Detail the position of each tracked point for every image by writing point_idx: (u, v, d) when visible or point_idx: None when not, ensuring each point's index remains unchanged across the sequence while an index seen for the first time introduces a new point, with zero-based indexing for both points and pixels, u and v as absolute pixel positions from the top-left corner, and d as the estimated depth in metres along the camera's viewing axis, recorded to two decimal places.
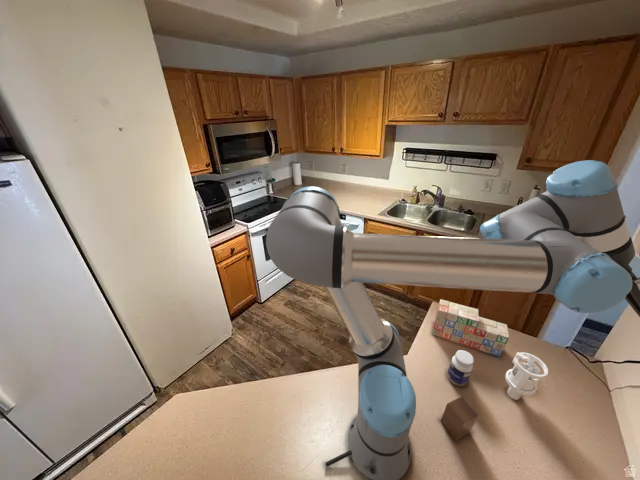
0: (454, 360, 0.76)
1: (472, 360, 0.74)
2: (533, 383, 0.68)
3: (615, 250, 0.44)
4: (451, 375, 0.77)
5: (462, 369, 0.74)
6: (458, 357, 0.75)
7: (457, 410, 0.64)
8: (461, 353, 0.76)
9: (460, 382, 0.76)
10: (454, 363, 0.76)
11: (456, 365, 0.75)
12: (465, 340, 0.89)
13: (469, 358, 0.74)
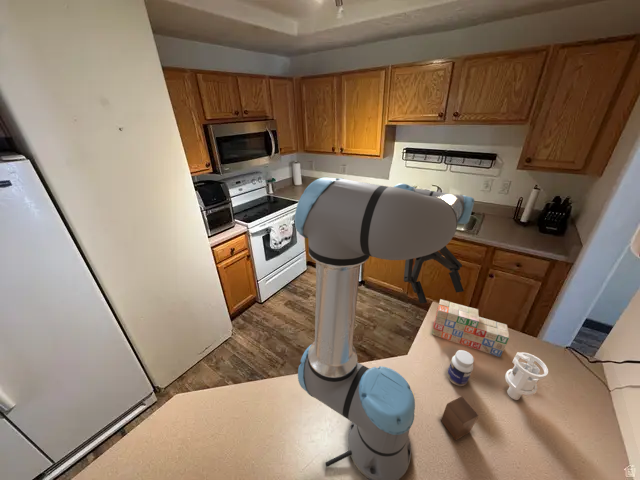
0: (454, 360, 0.76)
1: (472, 360, 0.74)
2: (533, 383, 0.68)
3: None
4: (451, 375, 0.77)
5: (462, 369, 0.74)
6: (458, 357, 0.75)
7: (457, 410, 0.64)
8: (461, 353, 0.76)
9: (460, 382, 0.76)
10: (454, 363, 0.76)
11: (456, 365, 0.75)
12: (465, 340, 0.89)
13: (469, 358, 0.74)
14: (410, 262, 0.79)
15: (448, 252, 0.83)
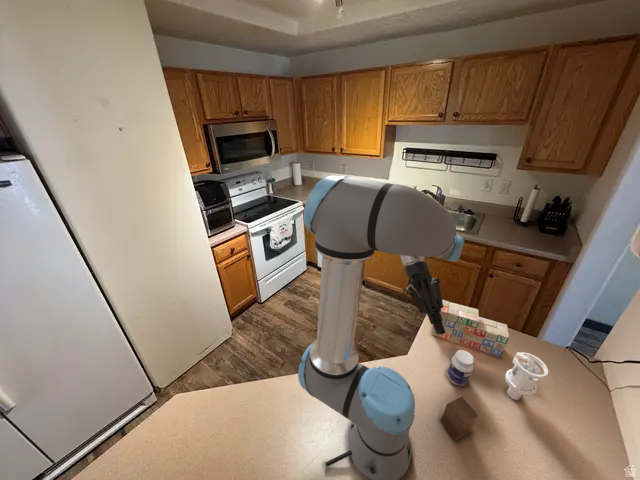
0: (454, 360, 0.76)
1: (472, 360, 0.74)
2: (533, 383, 0.68)
3: None
4: (451, 375, 0.77)
5: (462, 369, 0.74)
6: (458, 357, 0.75)
7: (457, 410, 0.64)
8: (461, 353, 0.76)
9: (460, 382, 0.76)
10: (454, 363, 0.76)
11: (456, 365, 0.75)
12: (465, 340, 0.89)
13: (469, 358, 0.74)
14: (417, 297, 0.83)
15: (438, 289, 0.86)
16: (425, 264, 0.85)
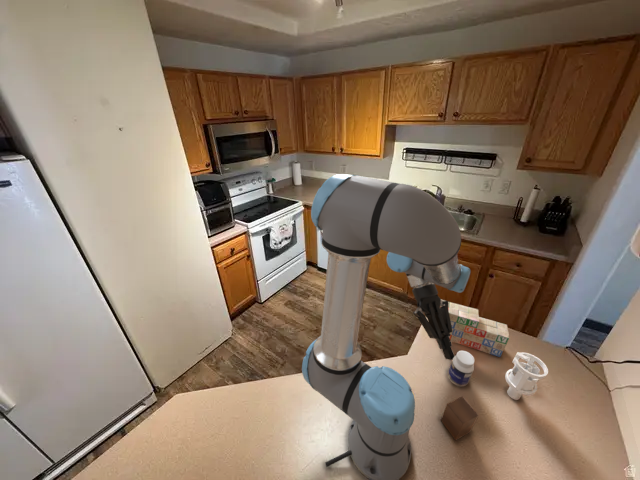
0: (455, 360, 0.76)
1: (473, 361, 0.74)
2: (533, 383, 0.68)
3: None
4: (452, 375, 0.77)
5: (463, 370, 0.74)
6: (459, 357, 0.75)
7: (457, 410, 0.64)
8: (462, 353, 0.76)
9: (460, 382, 0.76)
10: (455, 363, 0.76)
11: (456, 365, 0.75)
12: (465, 341, 0.89)
13: (470, 358, 0.74)
14: (426, 321, 0.81)
15: (447, 312, 0.84)
16: (434, 287, 0.83)
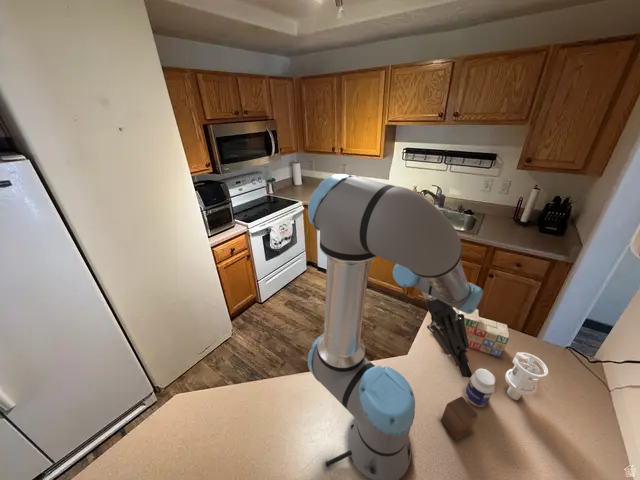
0: (473, 379, 0.71)
1: (493, 380, 0.68)
2: (533, 383, 0.68)
3: None
4: (470, 395, 0.72)
5: (482, 390, 0.69)
6: (478, 376, 0.69)
7: (457, 410, 0.64)
8: (482, 372, 0.71)
9: (479, 403, 0.71)
10: (474, 382, 0.70)
11: (475, 385, 0.70)
12: None
13: (491, 378, 0.69)
14: (441, 336, 0.76)
15: (463, 326, 0.79)
16: None
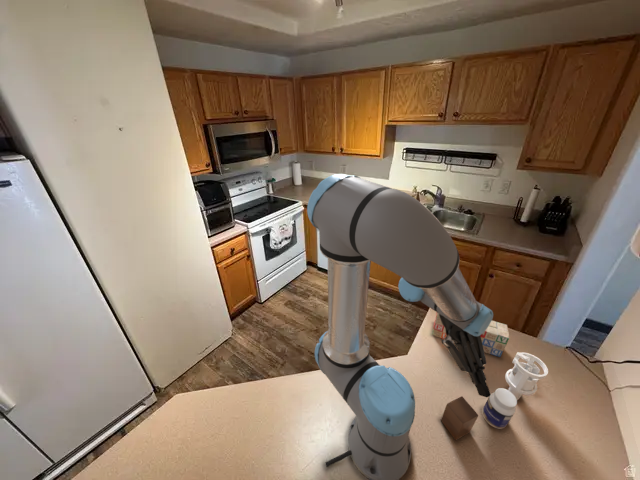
0: (493, 399, 0.66)
1: (515, 402, 0.64)
2: (533, 383, 0.68)
3: None
4: (489, 416, 0.67)
5: (503, 412, 0.64)
6: (498, 397, 0.65)
7: (457, 410, 0.64)
8: (502, 391, 0.66)
9: (499, 425, 0.66)
10: (493, 403, 0.66)
11: (495, 405, 0.65)
12: None
13: (512, 399, 0.64)
14: (456, 352, 0.71)
15: (479, 341, 0.74)
16: None
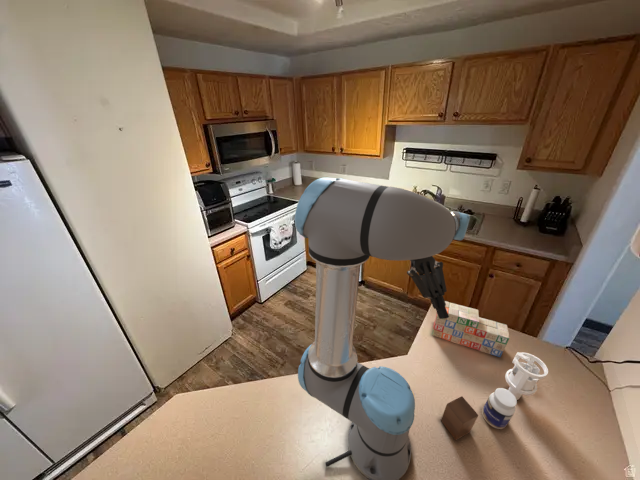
0: (492, 399, 0.66)
1: (515, 402, 0.64)
2: (533, 383, 0.68)
3: None
4: (488, 416, 0.67)
5: (503, 412, 0.64)
6: (498, 397, 0.65)
7: (457, 410, 0.64)
8: (501, 391, 0.66)
9: (499, 425, 0.66)
10: (493, 403, 0.66)
11: (495, 405, 0.65)
12: (465, 341, 0.89)
13: (512, 399, 0.64)
14: (419, 280, 0.80)
15: (441, 272, 0.83)
16: None
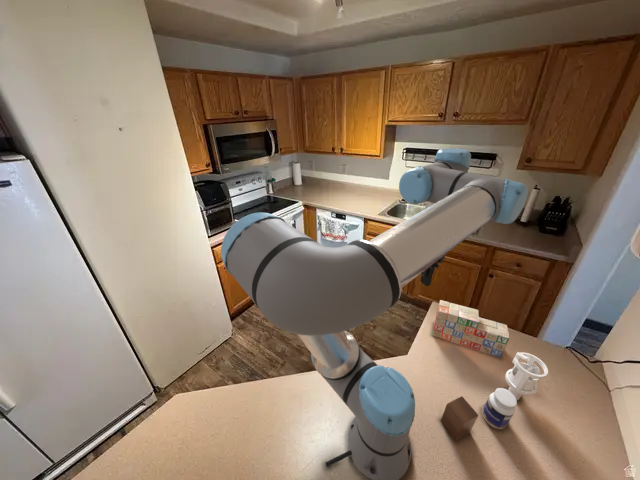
0: (492, 399, 0.66)
1: (515, 402, 0.64)
2: (533, 383, 0.68)
3: None
4: (488, 416, 0.67)
5: (503, 412, 0.64)
6: (498, 397, 0.65)
7: (457, 410, 0.64)
8: (501, 391, 0.66)
9: (499, 425, 0.66)
10: (493, 403, 0.66)
11: (495, 405, 0.65)
12: (465, 341, 0.89)
13: (512, 399, 0.64)
14: None
15: None
16: None
